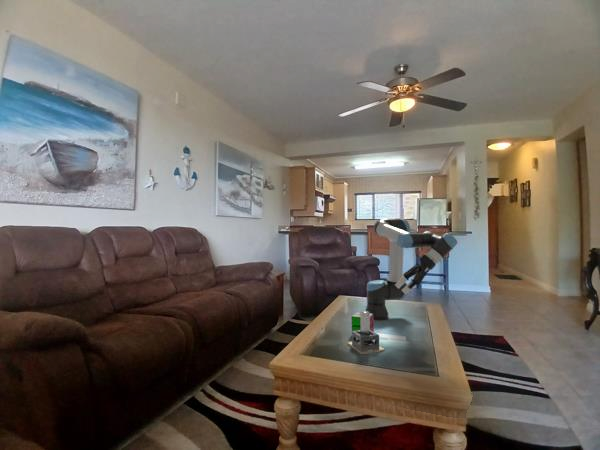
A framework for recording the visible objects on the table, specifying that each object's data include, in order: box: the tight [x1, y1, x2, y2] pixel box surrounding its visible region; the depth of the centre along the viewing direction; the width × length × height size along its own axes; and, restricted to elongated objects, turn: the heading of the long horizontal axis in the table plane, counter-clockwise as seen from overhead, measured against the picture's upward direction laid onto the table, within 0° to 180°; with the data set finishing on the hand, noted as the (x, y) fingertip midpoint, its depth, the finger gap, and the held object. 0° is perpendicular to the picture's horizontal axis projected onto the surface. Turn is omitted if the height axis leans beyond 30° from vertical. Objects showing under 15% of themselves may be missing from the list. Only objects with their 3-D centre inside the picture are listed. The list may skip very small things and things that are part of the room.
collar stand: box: [347, 330, 385, 355], centre depth 145 cm, size 14×12×7 cm
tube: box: [360, 310, 370, 344], centre depth 145 cm, size 4×4×16 cm
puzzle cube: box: [351, 311, 375, 332], centre depth 166 cm, size 10×10×10 cm
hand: (399, 289), depth 151 cm, fingers open, 13 cm apart
